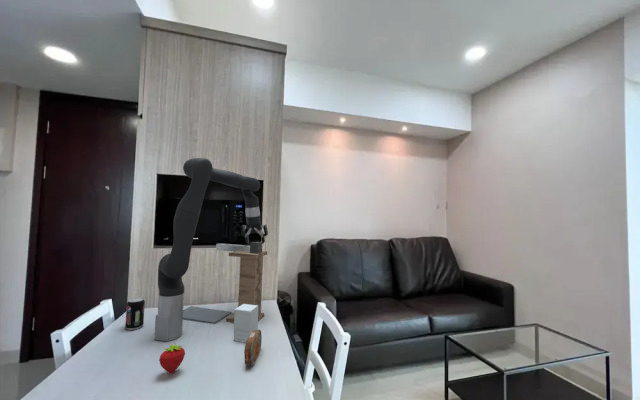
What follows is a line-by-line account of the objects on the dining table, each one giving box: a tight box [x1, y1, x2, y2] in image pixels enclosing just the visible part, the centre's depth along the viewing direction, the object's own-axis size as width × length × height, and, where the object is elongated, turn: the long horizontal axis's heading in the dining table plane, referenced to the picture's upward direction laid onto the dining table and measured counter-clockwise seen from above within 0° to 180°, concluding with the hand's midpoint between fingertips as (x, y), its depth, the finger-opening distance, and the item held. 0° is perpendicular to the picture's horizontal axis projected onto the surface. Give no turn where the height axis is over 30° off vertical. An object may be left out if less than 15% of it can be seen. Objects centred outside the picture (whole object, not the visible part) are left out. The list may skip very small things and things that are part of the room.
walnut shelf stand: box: [225, 250, 268, 324], centre depth 134 cm, size 12×14×32 cm
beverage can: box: [124, 297, 146, 331], centre depth 120 cm, size 7×7×12 cm
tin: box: [243, 329, 263, 366], centre depth 99 cm, size 15×3×8 cm, turn 179°
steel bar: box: [215, 241, 264, 254], centre depth 136 cm, size 5×23×5 cm, turn 76°
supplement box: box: [233, 304, 259, 343], centre depth 114 cm, size 7×7×13 cm
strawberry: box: [158, 340, 186, 375], centre depth 88 cm, size 6×8×10 cm
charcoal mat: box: [183, 305, 233, 325], centre depth 136 cm, size 14×24×1 cm, turn 76°
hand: (255, 243), depth 153 cm, fingers open, 8 cm apart
